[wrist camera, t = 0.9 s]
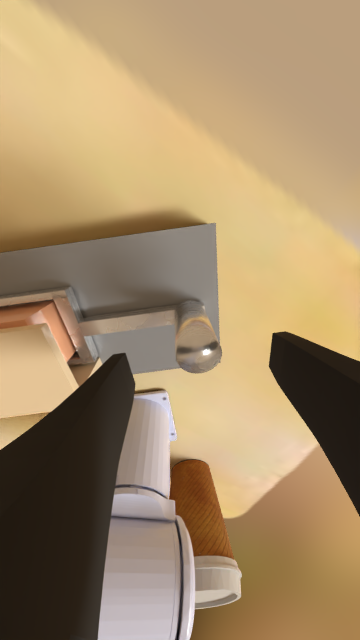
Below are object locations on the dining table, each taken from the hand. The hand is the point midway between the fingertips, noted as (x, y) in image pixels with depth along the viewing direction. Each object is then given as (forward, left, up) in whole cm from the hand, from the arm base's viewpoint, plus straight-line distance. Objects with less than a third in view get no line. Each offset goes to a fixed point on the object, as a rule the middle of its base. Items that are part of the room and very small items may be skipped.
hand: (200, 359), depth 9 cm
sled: (0, +8, -6) cm, 10 cm away
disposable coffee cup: (-30, +3, -9) cm, 32 cm away
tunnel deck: (0, +13, -9) cm, 15 cm away
